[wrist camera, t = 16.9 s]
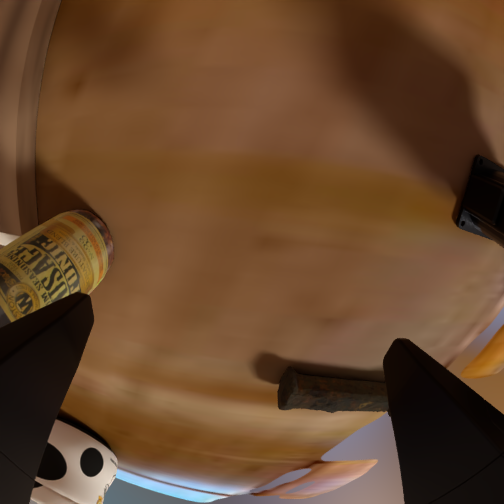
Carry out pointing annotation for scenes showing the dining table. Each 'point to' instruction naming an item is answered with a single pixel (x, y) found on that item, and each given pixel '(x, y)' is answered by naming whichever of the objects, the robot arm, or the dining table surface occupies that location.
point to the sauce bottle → (53, 263)
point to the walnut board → (21, 108)
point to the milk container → (74, 467)
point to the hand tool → (330, 393)
